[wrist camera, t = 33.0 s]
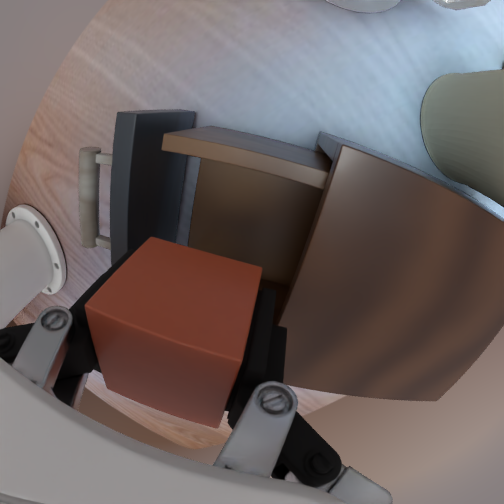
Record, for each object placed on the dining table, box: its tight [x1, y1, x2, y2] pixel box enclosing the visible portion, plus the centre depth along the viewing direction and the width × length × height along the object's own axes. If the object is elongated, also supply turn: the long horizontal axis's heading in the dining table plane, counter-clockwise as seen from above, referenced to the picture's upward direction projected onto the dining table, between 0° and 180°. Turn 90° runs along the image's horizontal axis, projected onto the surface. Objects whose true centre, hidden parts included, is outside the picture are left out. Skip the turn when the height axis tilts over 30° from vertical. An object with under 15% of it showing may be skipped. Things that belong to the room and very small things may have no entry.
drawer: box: [79, 110, 333, 325], centre depth 17 cm, size 18×13×8 cm
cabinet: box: [275, 131, 504, 401], centre depth 17 cm, size 15×14×10 cm
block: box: [85, 237, 262, 428], centre depth 9 cm, size 4×4×4 cm
